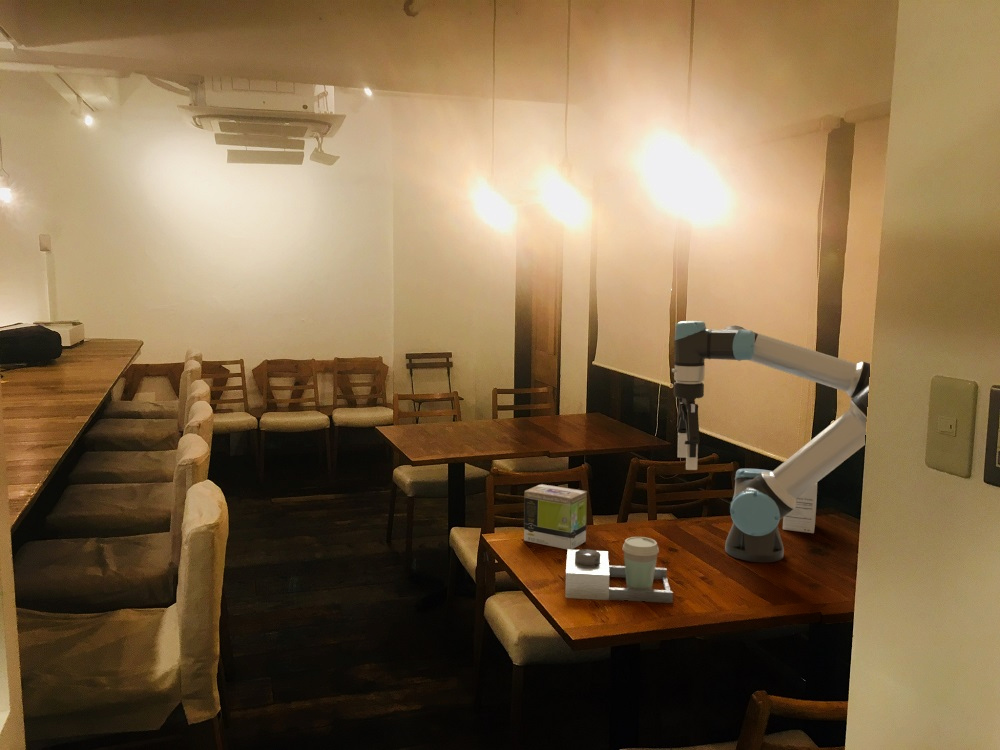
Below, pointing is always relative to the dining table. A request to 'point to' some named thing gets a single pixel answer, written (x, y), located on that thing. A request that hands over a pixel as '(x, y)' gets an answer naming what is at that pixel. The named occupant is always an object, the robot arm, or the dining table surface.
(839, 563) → the dining table surface
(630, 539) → the coffee cup
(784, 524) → the supplement box
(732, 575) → the dining table surface
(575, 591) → the button box with rail
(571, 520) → the tea box
